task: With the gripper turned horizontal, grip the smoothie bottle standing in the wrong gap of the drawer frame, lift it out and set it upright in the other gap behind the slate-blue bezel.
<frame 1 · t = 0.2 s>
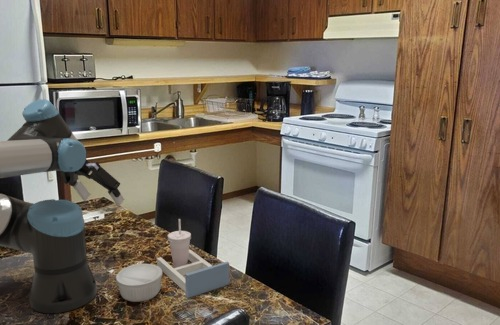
hand: (103, 200, 133), 15 cm above the table, tool tilted 35°, fingers open, 13 cm apart
ramekin: (140, 293, 108), on the table
smoothie: (180, 267, 121), on the table
drawer frame: (188, 273, 118), on the table
supplement bottle: (63, 254, 130), on the table
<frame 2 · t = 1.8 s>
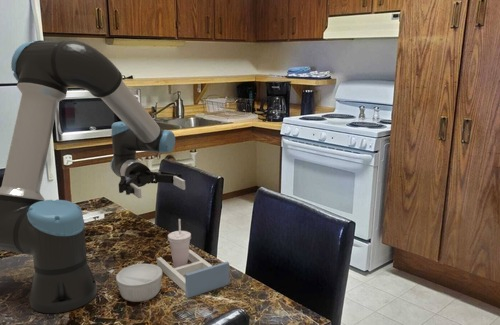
hand: (162, 189, 124), 20 cm above the table, tool horizontal, fingers open, 13 cm apart
nothing on the table moved.
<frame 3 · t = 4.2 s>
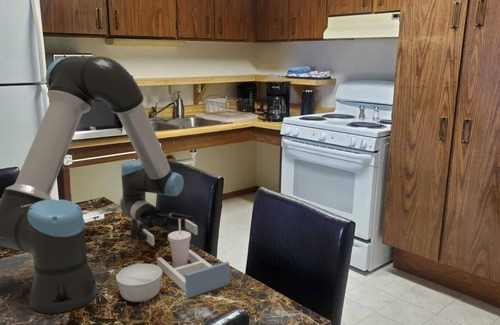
hand: (175, 235, 124), 8 cm above the table, tool horizontal, fingers open, 13 cm apart
nothing on the table moved.
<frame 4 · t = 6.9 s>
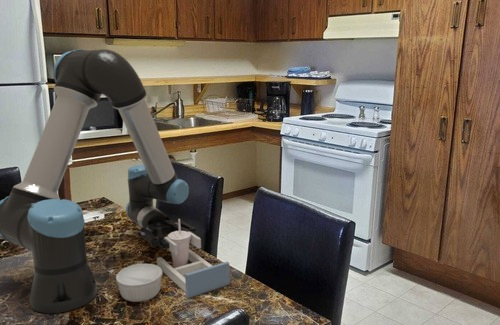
hand: (188, 246, 116), 8 cm above the table, tool horizontal, fingers closed on smoothie, 6 cm apart
smoothie: (180, 267, 121), on the table, touching gripper
everything else where it was.
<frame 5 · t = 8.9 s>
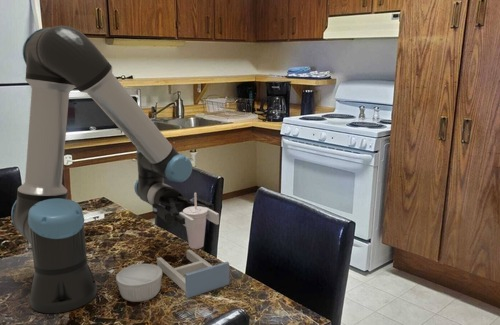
hand: (205, 222, 106), 18 cm above the table, tool horizontal, fingers closed on smoothie, 6 cm apart
smoothie: (196, 246, 112), point 10 cm above the table, touching gripper
everything else where it was.
when the fingers open (9 cm above the table, at t = 11.2 s): smoothie drops 1 cm, on the table.
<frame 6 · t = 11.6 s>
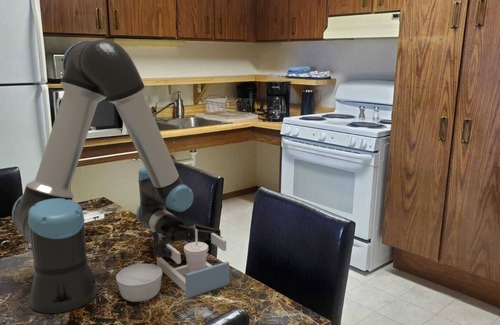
hand: (202, 252, 109), 9 cm above the table, tool horizontal, fingers open, 12 cm apart
smoothie: (196, 281, 114), on the table
everything else where it was.
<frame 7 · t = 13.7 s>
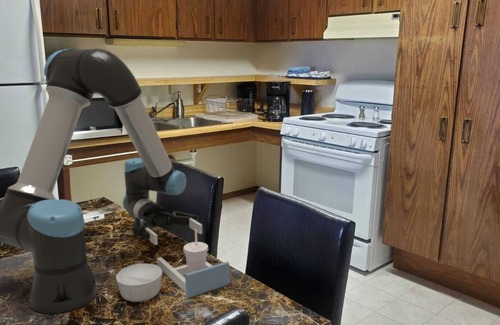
hand: (179, 234, 119), 10 cm above the table, tool horizontal, fingers open, 13 cm apart
nothing on the table moved.
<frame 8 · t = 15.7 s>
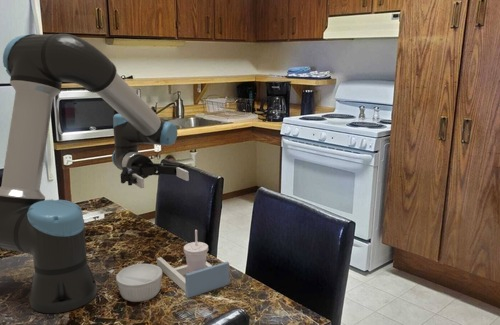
hand: (165, 179, 121), 24 cm above the table, tool horizontal, fingers open, 13 cm apart
nothing on the table moved.
at the end: smoothie 0.1 cm from the target spot on the drawer frame, point 0.0 cm above the drawer frame's base; smoothie tilted 0°; the gripper is holding nothing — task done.
